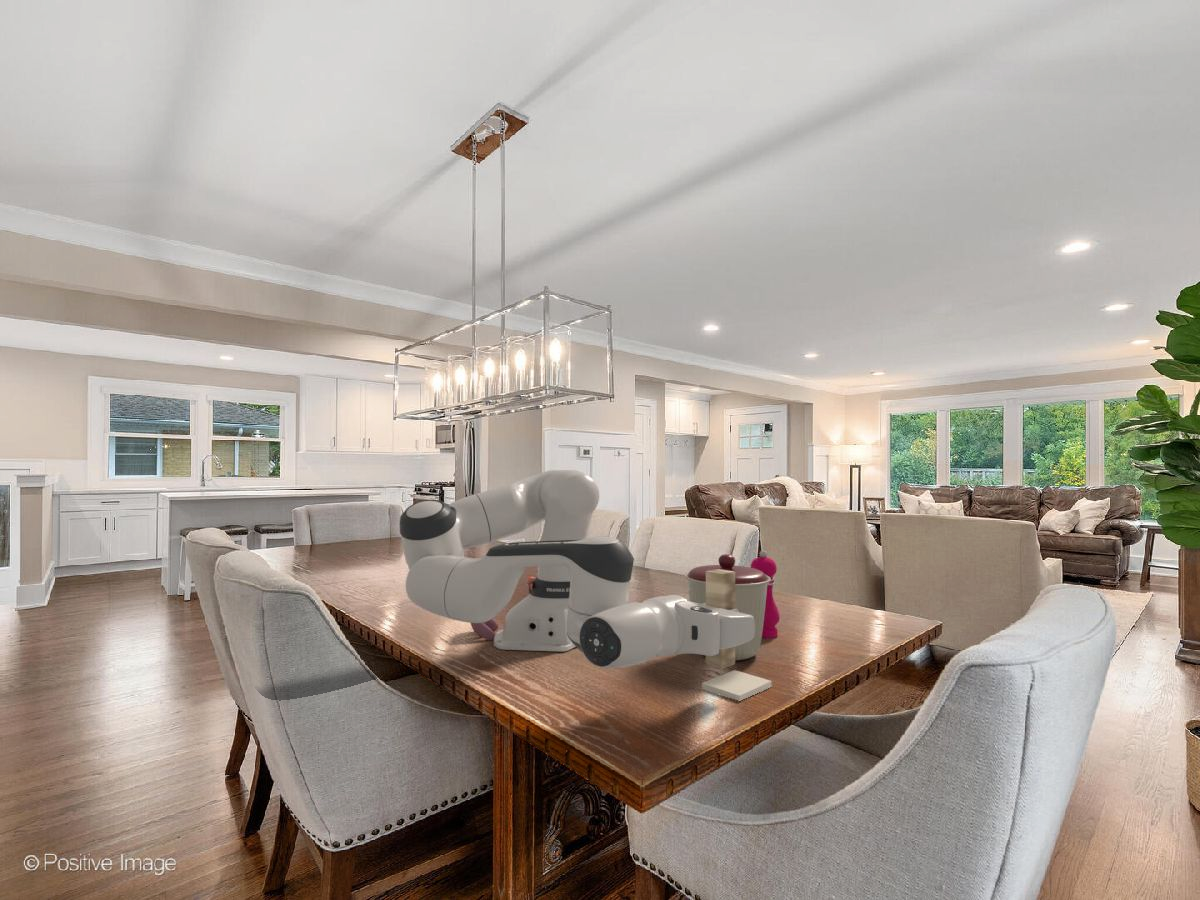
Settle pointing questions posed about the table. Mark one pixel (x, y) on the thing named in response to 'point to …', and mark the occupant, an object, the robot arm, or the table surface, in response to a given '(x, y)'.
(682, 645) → the robot arm
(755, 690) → the tile
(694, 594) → the canister
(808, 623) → the table surface
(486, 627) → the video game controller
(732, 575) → the block
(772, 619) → the pepper mill
